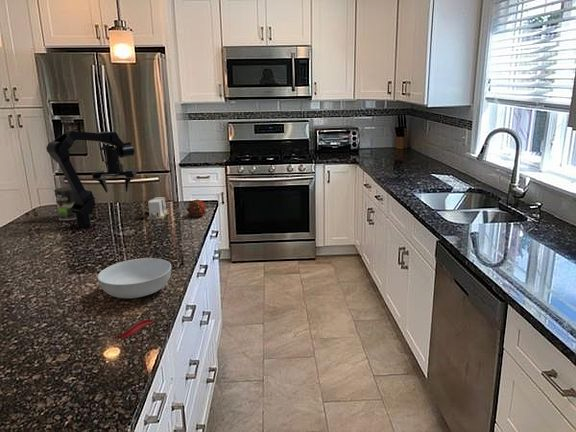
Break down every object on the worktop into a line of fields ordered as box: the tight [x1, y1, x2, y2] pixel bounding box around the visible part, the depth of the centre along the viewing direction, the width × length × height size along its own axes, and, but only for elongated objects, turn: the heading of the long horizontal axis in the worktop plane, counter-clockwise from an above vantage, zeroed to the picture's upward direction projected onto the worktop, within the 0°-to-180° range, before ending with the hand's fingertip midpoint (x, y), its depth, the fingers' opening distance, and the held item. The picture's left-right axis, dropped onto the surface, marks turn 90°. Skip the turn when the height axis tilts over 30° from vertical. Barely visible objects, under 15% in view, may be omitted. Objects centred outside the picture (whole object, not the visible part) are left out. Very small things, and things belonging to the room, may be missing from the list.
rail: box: [146, 196, 169, 221], centre depth 223 cm, size 16×7×7 cm, turn 5°
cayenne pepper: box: [114, 319, 156, 339], centre depth 118 cm, size 12×5×2 cm, turn 128°
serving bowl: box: [96, 257, 172, 299], centre depth 139 cm, size 21×21×7 cm
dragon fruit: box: [186, 199, 207, 218], centre depth 221 cm, size 8×8×12 cm
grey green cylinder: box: [53, 186, 76, 221], centre depth 223 cm, size 10×10×14 cm
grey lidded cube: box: [147, 199, 163, 217], centre depth 220 cm, size 6×5×7 cm
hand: (117, 192), depth 221 cm, fingers open, 9 cm apart
